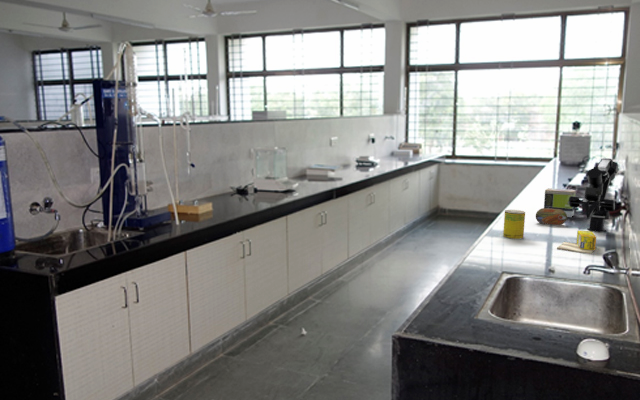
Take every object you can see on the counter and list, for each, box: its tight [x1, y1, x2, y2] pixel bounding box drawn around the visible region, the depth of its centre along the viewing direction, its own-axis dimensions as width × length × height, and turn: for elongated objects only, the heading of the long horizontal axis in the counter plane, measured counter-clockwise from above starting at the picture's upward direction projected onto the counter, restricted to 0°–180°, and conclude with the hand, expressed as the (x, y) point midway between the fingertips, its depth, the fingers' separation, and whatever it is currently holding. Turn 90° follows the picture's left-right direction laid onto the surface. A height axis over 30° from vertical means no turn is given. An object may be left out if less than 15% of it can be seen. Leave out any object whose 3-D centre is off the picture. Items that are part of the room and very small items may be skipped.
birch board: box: [556, 241, 597, 255], centre depth 224 cm, size 13×13×1 cm
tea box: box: [543, 188, 577, 218], centre depth 295 cm, size 15×10×15 cm, turn 58°
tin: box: [535, 207, 568, 226], centre depth 272 cm, size 15×3×8 cm, turn 68°
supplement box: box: [576, 230, 597, 251], centre depth 224 cm, size 6×6×11 cm
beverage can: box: [502, 209, 526, 240], centre depth 244 cm, size 9×9×12 cm
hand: (587, 218), depth 237 cm, fingers closed
